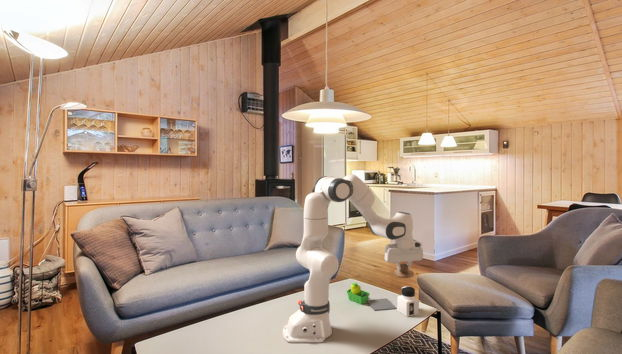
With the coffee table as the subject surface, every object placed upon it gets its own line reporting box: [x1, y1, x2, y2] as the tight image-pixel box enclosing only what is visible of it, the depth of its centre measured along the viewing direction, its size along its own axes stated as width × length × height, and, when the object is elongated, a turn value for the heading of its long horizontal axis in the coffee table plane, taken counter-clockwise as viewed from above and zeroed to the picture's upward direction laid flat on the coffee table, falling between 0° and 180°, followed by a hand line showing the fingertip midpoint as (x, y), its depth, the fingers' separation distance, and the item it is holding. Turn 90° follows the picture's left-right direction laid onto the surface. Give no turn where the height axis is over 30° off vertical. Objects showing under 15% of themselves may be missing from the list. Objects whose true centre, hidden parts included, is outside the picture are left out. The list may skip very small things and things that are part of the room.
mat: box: [366, 297, 397, 312], centre depth 177 cm, size 12×12×1 cm
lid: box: [393, 262, 415, 279], centre depth 169 cm, size 10×10×5 cm
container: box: [396, 285, 420, 318], centre depth 168 cm, size 8×8×13 cm
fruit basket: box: [346, 282, 370, 306], centre depth 182 cm, size 11×9×11 cm
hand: (403, 269), depth 169 cm, fingers closed on lid, 3 cm apart
